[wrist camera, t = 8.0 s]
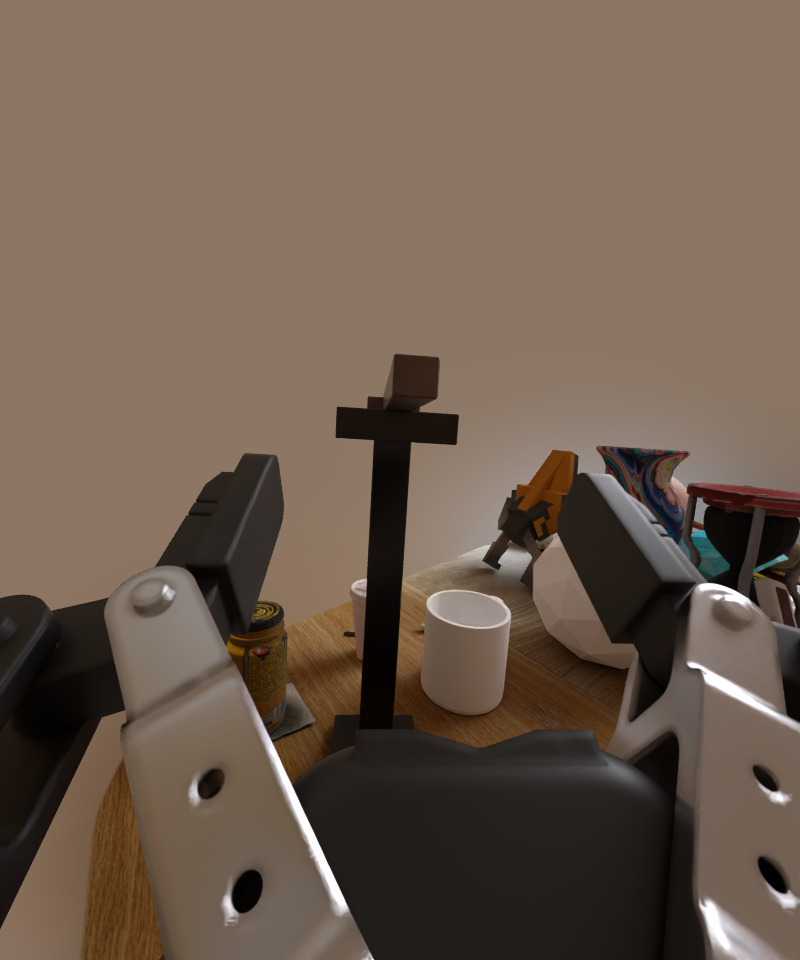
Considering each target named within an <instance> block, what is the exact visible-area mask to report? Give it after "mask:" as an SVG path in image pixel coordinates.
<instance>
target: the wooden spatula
mask: <svg viewBox="0 0 800 960" xmlns="http://www.w3.org/2000/svg"><path fill="white" fill-rule="evenodd" d="M439 369H440V358H438V357H430V356H417V355H404V354H395V355H394V358H393V362H392V366H391V369H390V373H389V377H388V381H387V385H386V389H385V392H384V397H368V406H367V409H380V410H395V411H411V412H419V410H420V407H421V406H423V405H425V404H427V403H429V402H431V401H433V400H435V399H436V398H437V397H438V383H439Z"/></svg>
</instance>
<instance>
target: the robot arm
mask: <svg viewBox="0 0 800 960" xmlns="http://www.w3.org/2000/svg"><path fill="white" fill-rule="evenodd" d="M283 512H284V501H283V493H282V485H281V477H280V470H279V463H278V459H277V456H276V455H267V454H249V453H245V454H244V455H243V456H242V458H241V460H240V462H239V464H238V466H237V467H236V470H235V471H234V472H221V473H220V474H219V475H217V476H216V477H215V478H213V479H212V480H211V481H209V482H208V483H207V484H206V485H205V486H204V488H203V489H202V491H201V493H200V494H199V496H198V498H197V499H196V503H194V504H193V506H192V507H191V509H190V511H189V515H188V516H186V517H185V519H184V521H183V522H182V524H181V525H180V527H179V529H178V530H177V532H176V534H175V535H174V537H173V538H172V540H171V542H170V543H169V545H168V547H167V548H166V550H165V552H164V553H163V555H162V556H161V558H160V560H159V561H158V563H157V565H156V566H155V567H154V568H151V569H147V570H145V571H142V572H140V573H138V574H136V575H134V576H132V577H130V578H129V579H127V580H126V581H125V582H123V583H122V584H121V585H120V586H119V587H118V588H116V590H115V591H114V592H113V593H112V595H111V596H110V597H109V598H105V599H101V600H98V601H93V602H88V603H84V604H79V605H75V606H71V607H66V608H62V609H57V610H53V611H51V610H50V609H49V607H48V606H47V605H46V604H45V602H43V601H42V600H41V599H40V598H37V597H35V596H30V595H13V596H8V597H3V598H0V928H1V926H2V924H3V922H4V920H5V918H6V916H7V914H8V912H9V910H10V908H11V905H12V903H13V901H14V899H15V897H16V895H17V893H18V891H19V889H20V887H21V885H22V883H23V881H24V878H25V876H26V874H27V872H28V870H29V868H30V866H31V864H32V862H33V860H34V858H35V856H36V854H37V851H38V849H39V847H40V845H41V843H42V841H43V839H44V837H45V835H46V832H47V831H48V829H49V826H50V824H51V822H52V820H53V818H54V816H55V814H56V812H57V810H58V808H59V806H60V803H61V801H62V799H63V797H64V795H65V793H66V791H67V789H68V786H69V785H70V783H71V781H72V779H73V777H74V774H75V772H76V770H77V768H78V766H79V764H80V762H81V760H82V758H83V756H84V754H85V752H86V749H87V747H88V745H89V743H90V741H91V739H92V737H93V735H94V733H95V731H96V729H97V726H98V724H99V722H100V720H101V718H102V717H105V716H108V715H111V714H114V713H117V712H121V711H124V710H126V715H127V722H126V723H124V724H123V725H122V726H121V730H120V740H121V747H122V753H123V758H124V763H125V767H126V772H127V777H128V782H129V787H130V791H131V796H132V801H133V806H134V811H135V816H136V820H137V825H138V830H139V835H140V840H141V845H142V849H143V854H144V859H145V864H146V869H147V873H148V878H149V883H150V888H151V893H152V898H153V902H154V907H155V912H156V917H157V922H158V927H159V931H160V936H161V941H162V946H163V951H164V954H163V955H162V957H161V958H160V959H159V960H800V629H797V628H794V627H790V626H787V625H784V624H780V623H777V622H773V621H771V620H770V619H769V617H768V616H767V615H766V614H765V613H764V612H763V611H762V610H761V609H760V608H759V607H758V606H757V605H756V604H755V603H753V602H752V601H751V600H749V599H748V598H746V597H745V596H743V595H741V594H740V593H738V592H736V591H734V590H732V589H729V588H727V587H724V586H721V585H717V584H710V583H708V582H707V581H706V579H705V578H704V577H703V576H702V575H701V573H700V572H699V571H698V570H697V568H696V567H695V566H694V565H693V564H692V562H691V561H690V560H689V559H688V557H687V556H686V555H685V554H684V553H683V551H682V550H681V549H680V548H679V546H678V545H677V544H676V543H675V542H674V540H673V539H672V538H671V537H668V533H667V532H666V531H665V529H664V528H663V527H662V526H661V525H658V521H657V520H656V518H655V517H654V516H653V515H652V514H651V512H650V511H649V510H648V509H647V507H646V506H644V505H643V504H642V503H640V502H639V501H637V500H636V499H635V498H633V497H632V496H631V495H629V494H627V493H626V492H625V490H624V489H623V488H622V487H621V485H620V484H619V483H618V482H617V480H616V479H615V478H614V477H613V476H612V475H610V474H595V473H580V474H578V475H577V476H576V477H575V479H574V481H573V483H572V485H571V487H570V490H569V492H568V494H567V496H566V498H565V500H564V503H563V505H562V507H561V509H560V511H559V513H558V516H557V522H556V527H557V533H558V536H559V538H560V540H561V542H562V544H563V546H564V548H565V550H566V552H567V554H568V556H569V558H570V560H571V563H572V565H573V567H574V569H575V571H576V573H577V575H578V577H579V579H580V581H581V583H582V585H583V587H584V589H585V591H586V593H587V595H588V597H589V599H590V601H591V603H592V605H593V607H594V609H595V611H596V613H597V615H598V617H599V619H600V621H601V623H602V625H603V627H604V629H605V631H606V633H607V635H608V637H609V639H610V641H611V643H612V644H634V646H635V648H636V650H637V652H636V653H635V654H634V655H633V657H632V658H631V661H630V666H629V671H628V675H627V680H626V685H625V689H624V694H623V699H622V704H621V708H620V713H619V718H618V722H617V726H616V729H615V732H614V734H613V736H612V738H611V740H610V741H609V743H608V745H607V746H606V748H605V750H604V751H603V750H601V749H600V748H599V745H598V742H597V740H596V737H595V735H594V732H593V730H534V731H531V732H528V733H525V734H522V735H519V736H517V737H514V738H511V739H508V740H505V741H502V742H499V743H496V744H493V745H490V746H487V747H483V748H477V747H473V746H469V745H466V744H463V743H459V742H456V741H453V740H449V739H446V738H443V737H439V736H436V735H433V734H430V733H426V732H423V731H420V730H416V729H356V737H355V746H352V747H349V748H346V749H342V750H340V751H338V752H336V753H334V754H332V755H330V756H328V757H326V758H324V759H323V760H321V761H320V762H318V763H317V764H315V765H314V766H312V767H311V768H310V769H308V770H307V771H306V772H305V773H304V774H303V775H301V776H300V777H299V778H298V779H297V780H296V781H295V782H294V783H293V784H292V785H291V783H290V781H289V779H288V776H287V774H286V772H285V770H284V768H283V766H282V763H281V761H280V759H279V757H278V755H277V753H276V750H275V748H274V746H273V744H272V742H271V740H270V737H269V735H268V733H267V731H266V729H265V727H264V724H263V722H262V720H261V718H260V716H259V714H258V711H257V709H256V707H255V705H254V703H253V701H252V698H251V696H250V694H249V692H248V690H247V688H246V685H245V683H244V681H243V679H242V677H241V675H240V672H239V670H238V668H237V666H236V664H235V663H234V661H232V659H231V657H230V655H229V652H228V650H227V648H226V646H227V643H228V641H229V638H230V635H247V633H248V630H249V626H250V623H251V620H252V617H253V614H254V611H255V607H256V604H257V601H258V598H259V594H260V591H261V588H262V585H263V582H264V578H265V575H266V572H267V569H268V566H269V563H270V559H271V556H272V553H273V550H274V547H275V543H276V540H277V537H278V534H279V531H280V527H281V524H282V520H283Z"/></svg>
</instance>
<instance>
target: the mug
mask: <svg viewBox="0 0 800 960" xmlns="http://www.w3.org/2000/svg"><path fill="white" fill-rule="evenodd" d="M510 623H511V612H510V610H509V609H508V607H507V606H506V605H505V603H504V602H503V601H502V600H501V599H500V598H498V597H496V596H488V595H485V594H482V593H478V592H474V591H467V590H446V591H441V592H437V593H435V594H433V595H431V596H430V597H429V598H428V599H427V603H426V615H425V629H424V642H423V656H422V670H421V685H422V689H423V690H424V692H425V693H426V695H427V696H428V698H429V699H431V700H432V701H433V702H434V703H435V704H436V705H438V706H440V707H441V708H443V709H445V710H448V711H450V712H453V713H456V714H462V715H480V714H484V713H488V712H489V711H491V710H493V709H495V708H496V707H497V706H498V705H499V703H500V702H501V700H502V696H503V690H504V681H505V671H506V662H507V652H508V642H509V633H510Z"/></svg>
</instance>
